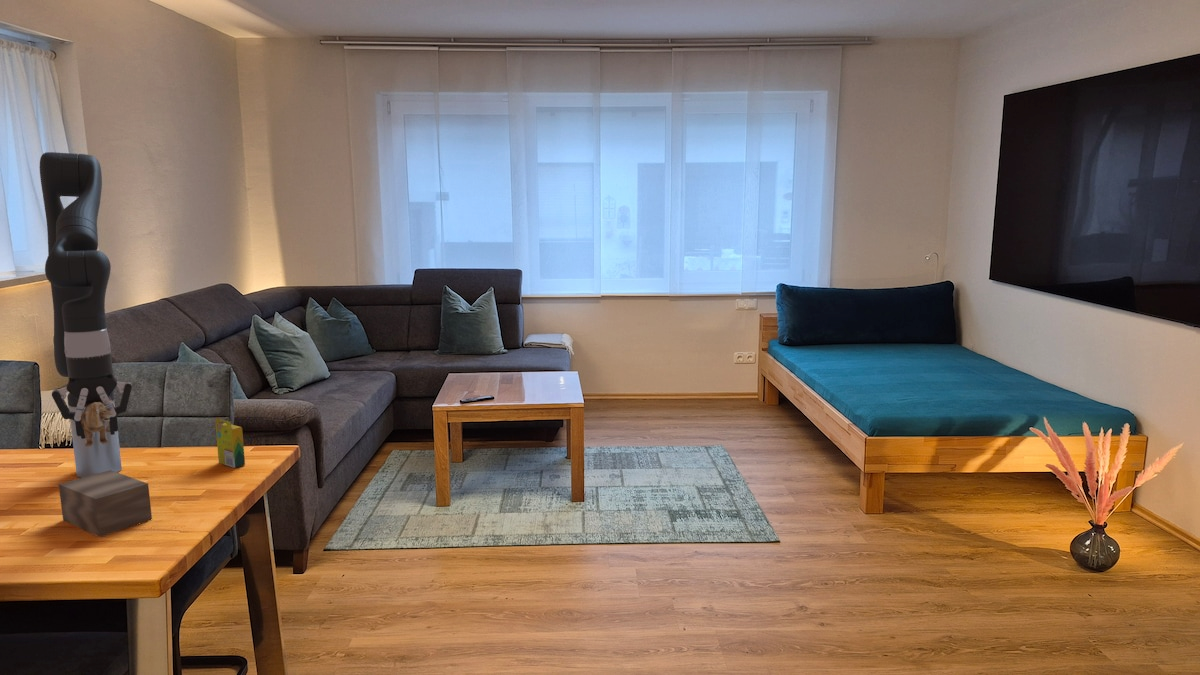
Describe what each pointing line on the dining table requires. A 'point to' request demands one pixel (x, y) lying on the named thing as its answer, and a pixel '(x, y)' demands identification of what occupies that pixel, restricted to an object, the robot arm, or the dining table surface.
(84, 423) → the lion figurine
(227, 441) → the crayon box
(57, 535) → the dining table surface
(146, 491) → the brown wooden block
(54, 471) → the dining table surface
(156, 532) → the dining table surface
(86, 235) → the robot arm
